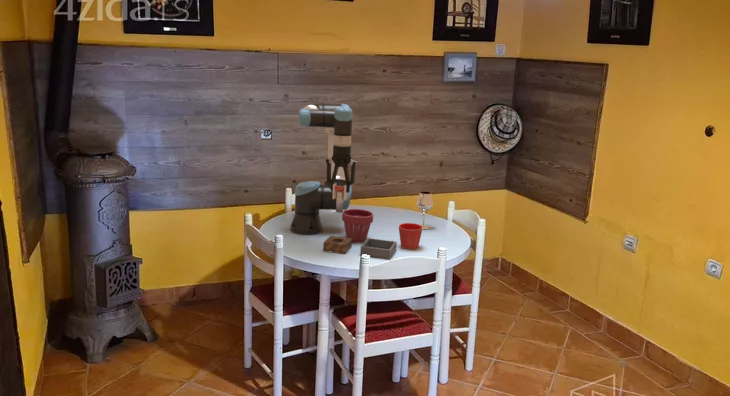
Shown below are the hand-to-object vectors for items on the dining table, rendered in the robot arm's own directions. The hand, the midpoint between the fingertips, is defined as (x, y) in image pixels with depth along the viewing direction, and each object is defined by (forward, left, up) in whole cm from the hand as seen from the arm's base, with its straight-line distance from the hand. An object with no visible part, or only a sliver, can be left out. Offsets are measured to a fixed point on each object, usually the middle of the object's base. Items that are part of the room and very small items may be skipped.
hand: (339, 198), depth 261 cm
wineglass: (+30, +49, -23) cm, 62 cm away
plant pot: (+4, +17, -23) cm, 29 cm away
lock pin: (0, 0, -6) cm, 6 cm away
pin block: (0, 0, -23) cm, 23 cm away
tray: (+18, +2, -23) cm, 29 cm away
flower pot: (+29, +16, -23) cm, 40 cm away
